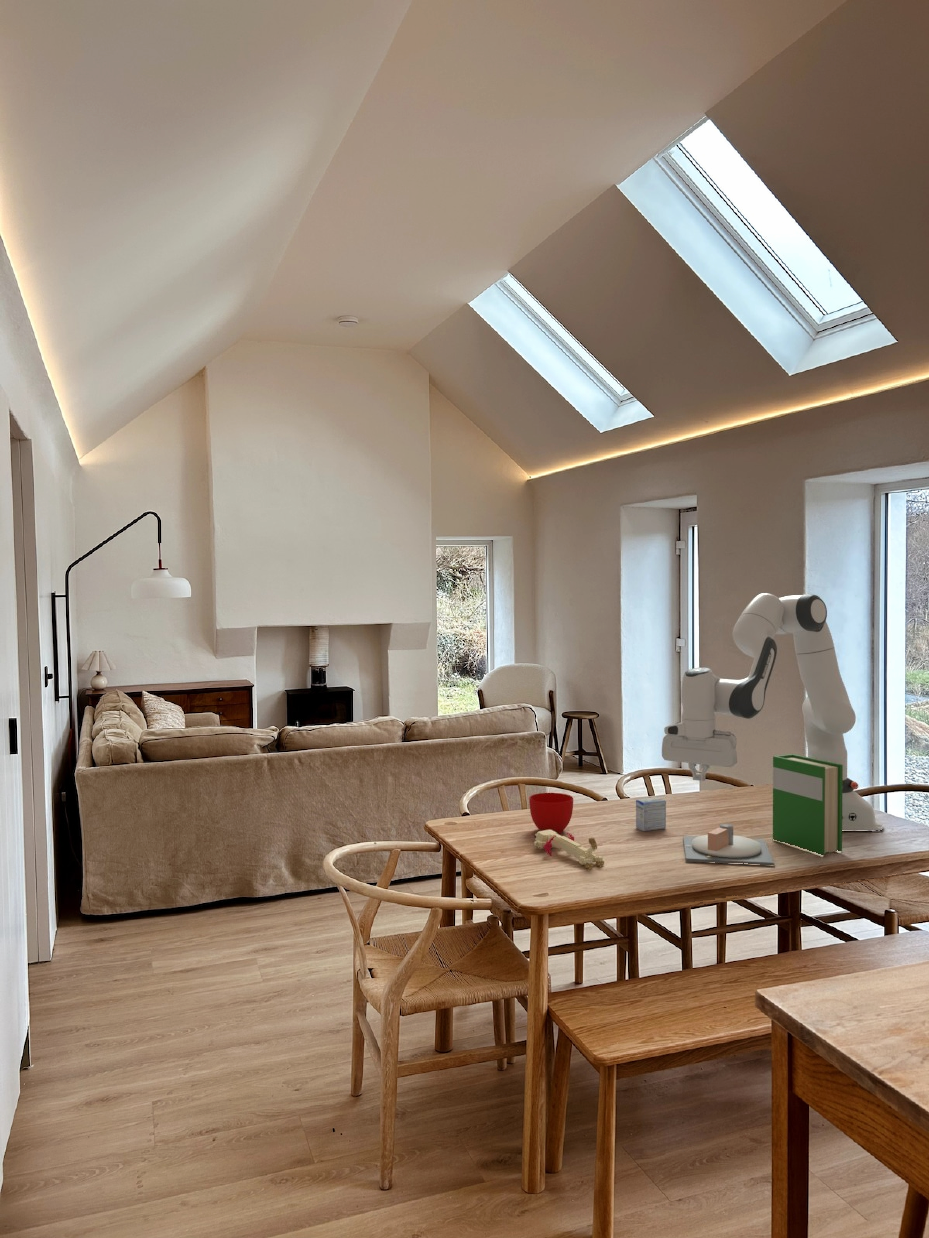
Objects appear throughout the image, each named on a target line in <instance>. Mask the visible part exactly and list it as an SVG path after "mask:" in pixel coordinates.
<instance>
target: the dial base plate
mask: <svg viewBox="0 0 929 1238" xmlns="http://www.w3.org/2000/svg"><path fill="white" fill-rule="evenodd" d="M696 837H699V836H698V835H682V841H683V848H684V855H685V863H692V862H715V863H743V864H744V863H748V864H760V865H774V866H775V861H774V858H773V856H772V854H771V852H770V850H769V848H768V846H767V843H766V841H765V838H752V839H753V840H755V841H757V842H759V843H760V844H761V852H760V853H759V854H757V855H755V856H750V857H742V858H728V857H718V856H712V855H707V854H704V853H701V852H698V851H696V850H695V849H694V848H693V847H692V840H693V839H694V838H696Z"/></svg>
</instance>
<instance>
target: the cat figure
mask: <svg viewBox="0 0 929 1238" xmlns="http://www.w3.org/2000/svg"><path fill="white" fill-rule="evenodd" d="M566 835H568V837H567V836H564V835H560V833H559V834H557V833H556V832H554V831H552V830H544V831H540V830H539V831H537V832H536V833H535V834H534V843H533V845H534V846H535V847H537V849H539V850H544V851H545V852H546V853H547V855H549V856H552V855H553V853H552V849H553V848H556V849H558V850H561V851H564V852H566V853H568V854H570V855H571V856H573V857H574V858H575V859H577V860H578V863H579V864H581V865H583V866H584V868H585V869H587V870H591V869H592V868H594V863H595V865H596V866H597V867H599V868H600V867H601V868H602V867H603V866H604V865H605V860H603V859H604V857H603V856H601V855H599V856H598V854H597V855H596V854H595V853H593V852H595V851H596V850H597V849H598V845H597V844H598V843H597V841H596V839H595V837H589V838H588V843H589V845H590V847H588V848H586V847H585V846H583V845H582V844H580V843H578V842H576V841H575V836H573V835H572V834H571V833H569V832H566Z"/></svg>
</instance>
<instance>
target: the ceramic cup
mask: <svg viewBox="0 0 929 1238" xmlns="http://www.w3.org/2000/svg"><path fill="white" fill-rule="evenodd" d="M528 799H529V800H528V803H529V811H530V816H531V819H532V822H533V824H534V825H535V826H536V828H537V829H538V830H539V831H544V830H552V831H554V832H556V833H557V834H559V835H560V834H561V833H563V832H564V830H565V829H566V828H567V827H568V825H569V824H570V822H571V819H572V815H573V810H574V797H573V796H572V795H570V794H566V793H562V792H561V793H560V792H538V793H534V794H532V795H530V796H529V798H528Z"/></svg>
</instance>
